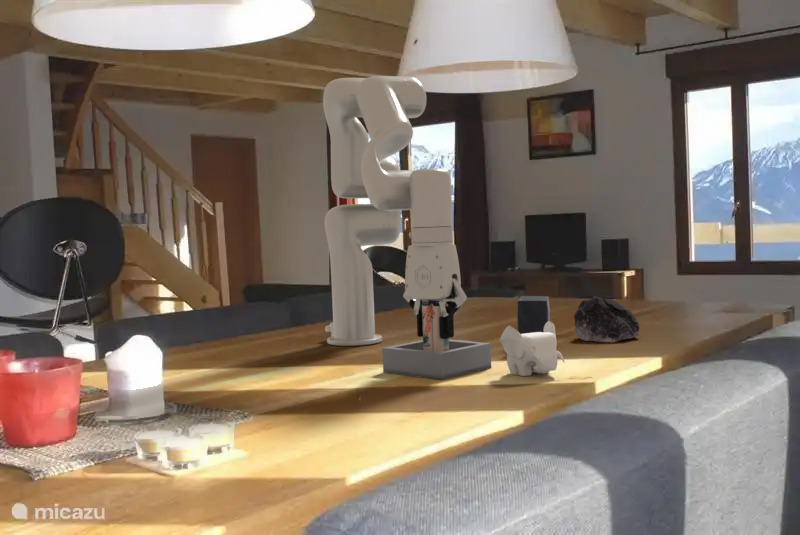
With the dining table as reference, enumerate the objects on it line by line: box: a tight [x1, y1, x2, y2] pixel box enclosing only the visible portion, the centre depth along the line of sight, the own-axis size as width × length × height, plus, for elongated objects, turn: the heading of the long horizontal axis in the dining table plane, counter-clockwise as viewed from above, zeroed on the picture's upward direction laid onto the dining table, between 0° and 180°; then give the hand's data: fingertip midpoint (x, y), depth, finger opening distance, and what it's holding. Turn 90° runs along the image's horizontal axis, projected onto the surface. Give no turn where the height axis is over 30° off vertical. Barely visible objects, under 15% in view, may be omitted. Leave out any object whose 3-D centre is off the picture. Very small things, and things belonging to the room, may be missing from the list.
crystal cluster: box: [573, 295, 640, 343], centre depth 190 cm, size 13×14×10 cm
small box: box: [516, 295, 551, 334], centre depth 181 cm, size 11×6×10 cm, turn 168°
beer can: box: [422, 297, 450, 352], centre depth 158 cm, size 5×5×12 cm
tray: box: [381, 339, 492, 381], centre depth 158 cm, size 14×14×4 cm
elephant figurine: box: [499, 320, 566, 377], centre depth 150 cm, size 10×12×9 cm
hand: (435, 335), depth 158 cm, fingers closed on beer can, 4 cm apart
